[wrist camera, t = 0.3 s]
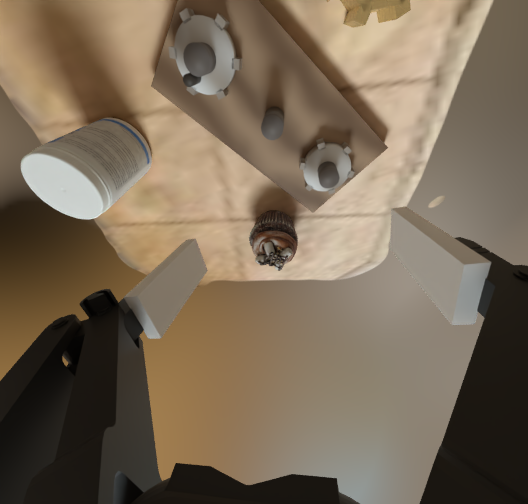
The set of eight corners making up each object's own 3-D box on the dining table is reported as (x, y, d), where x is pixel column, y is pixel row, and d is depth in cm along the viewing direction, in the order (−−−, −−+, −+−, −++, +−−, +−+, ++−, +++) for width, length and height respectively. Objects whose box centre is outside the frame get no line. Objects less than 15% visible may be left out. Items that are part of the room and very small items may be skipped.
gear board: (204, -61, 22) (179, -90, 17) (383, 143, 34) (399, 161, 29) (157, 83, 31) (131, 92, 26) (312, 207, 43) (314, 229, 38)
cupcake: (302, 211, 44) (304, 244, 37) (291, 246, 50) (291, 280, 43) (255, 202, 43) (247, 235, 36) (250, 239, 50) (243, 272, 43)
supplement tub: (95, 103, 34) (6, 131, 23) (158, 136, 36) (103, 175, 26) (97, 159, 40) (27, 201, 29) (150, 183, 43) (103, 231, 32)
